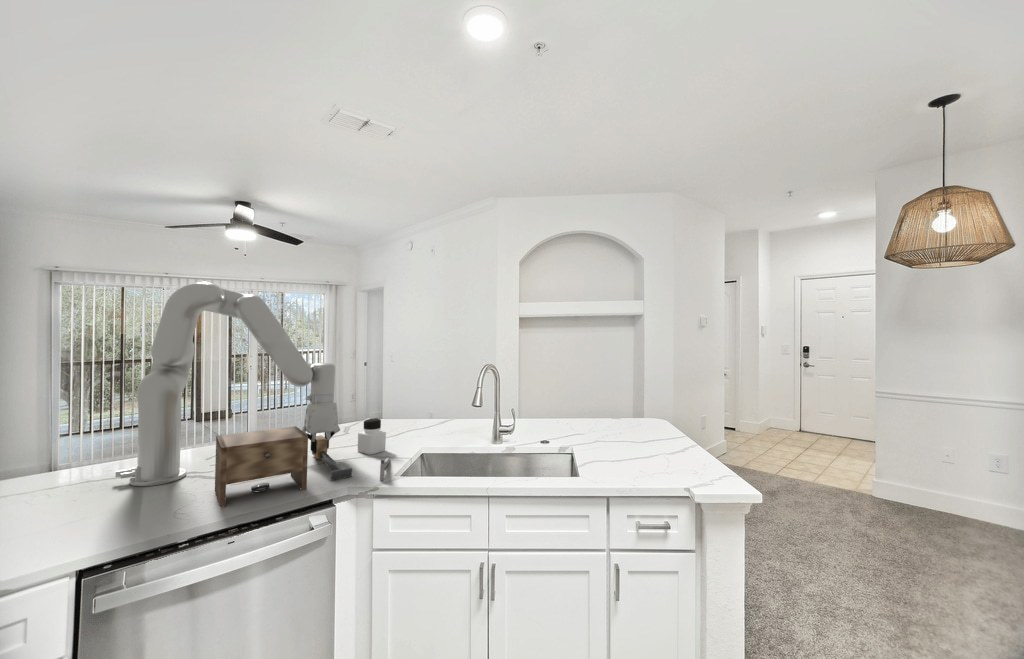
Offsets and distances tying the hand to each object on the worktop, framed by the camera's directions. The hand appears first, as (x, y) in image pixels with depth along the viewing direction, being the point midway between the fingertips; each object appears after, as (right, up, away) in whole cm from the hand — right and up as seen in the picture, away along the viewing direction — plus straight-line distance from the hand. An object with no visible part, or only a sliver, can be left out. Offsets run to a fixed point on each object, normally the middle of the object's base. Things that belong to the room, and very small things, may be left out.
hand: (319, 451), depth 143 cm
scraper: (+6, -2, -8) cm, 10 cm away
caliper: (+26, -4, -10) cm, 28 cm away
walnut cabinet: (-3, -2, -28) cm, 29 cm away
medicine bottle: (+15, -3, +10) cm, 18 cm away
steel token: (-4, -2, -28) cm, 28 cm away
